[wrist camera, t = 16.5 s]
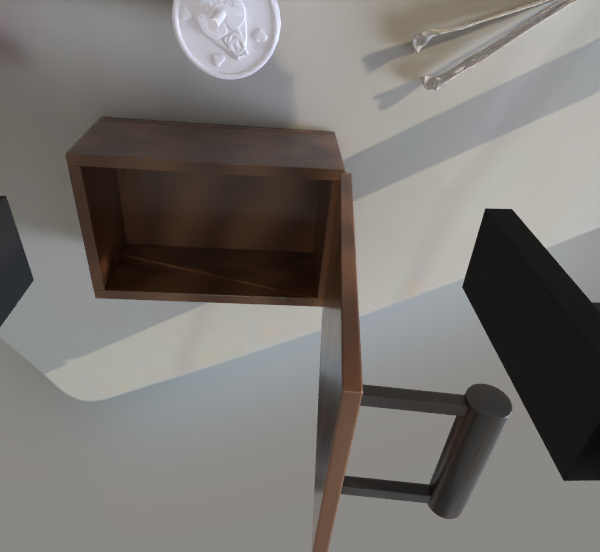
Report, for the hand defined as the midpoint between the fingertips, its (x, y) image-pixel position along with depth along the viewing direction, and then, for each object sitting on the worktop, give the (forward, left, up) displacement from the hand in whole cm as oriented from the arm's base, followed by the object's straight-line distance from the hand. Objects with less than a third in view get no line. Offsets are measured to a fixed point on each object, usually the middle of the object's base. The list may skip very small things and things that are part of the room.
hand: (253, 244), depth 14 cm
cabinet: (+4, +13, -30) cm, 33 cm away
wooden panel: (-4, +13, -11) cm, 17 cm away
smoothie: (+2, -3, -30) cm, 30 cm away
